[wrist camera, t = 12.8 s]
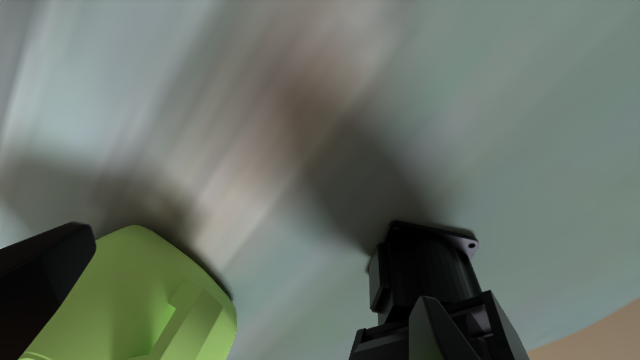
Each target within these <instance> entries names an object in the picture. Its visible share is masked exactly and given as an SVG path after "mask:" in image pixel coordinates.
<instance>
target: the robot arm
mask: <svg viewBox="0 0 640 360" xmlns="http://www.w3.org/2000/svg"><path fill="white" fill-rule="evenodd" d="M394 227H399V228H397V229H394ZM470 243H473V244H471V245H469V244H470ZM96 247H97V246H96V242H95V238H94V234H93V231H92V228H91V226H90V225H89V224H85V223H80V222H70V223H67V224H64V225H62V226H59V227H56V228H54V229H51V230H49V231H46V232H43V233H41V234H38V235H36V236H33V237H31V238H28V239H25V240H23V241H20V242H18V243H15V244H12V245H10V246H7V247H5V248H2V249H0V360H18V359H19V358H20V357H21V355H22V354H23V353H24V352H25V350H26V349H27V348H28V347H29V345H30V344H31V343H32V342H33V340H34V339H35V338H36V337H37V335H38V334H39V333H40V332H41V330H42V329H43V328H44V327H45V325H46V324H47V323H48V322H49V320H50V319H51V318H52V317H53V315H54V314H55V313H56V311H57V310H58V309H59V308H60V306H61V305H62V303H63V302H64V300H65V299H66V298H67V296H68V295H69V293H70V291H71V290H72V288H73V287H74V285H75V284H76V282H77V281H78V279H79V278H80V276H81V275H82V273H83V272H84V270H85V269H86V267H87V265H88V264H89V262H90V261H91V259H92V258H93V256H94V254H95V252H96ZM478 247H479V243H478V240H477V239H476V238H475V237H472V236H467V235H462V234H457V233H453V232H448V231H443V230H439V229H434V228H429V227H425V226H420V225H415V224H411V223H406V222H401V221H392V222H391V223H390V224H389V227H388V229H387V232H386V234H385V237H384V240H383V242H382V243H379V244H378V245H377V247H376V250H375V252H374V255H373V258H372V260H371V263H370V266H369V286H370V309H371V310H372V312H375V313H378V326H376V327H372V328H369V329H366V328H364V329H360V330H357V333H356V336H355V340H354V343H353V347H352V350H351V353H350V357H349V360H529V357H528V355H527V353H526V351H525V349H524V347H523V345H522V342H521V340H520V338H519V336H518V334H517V333H516V331H515V329H514V328H513V326H512V324H511V323H510V321H509V319H508V318H507V316H506V314H505V313H504V311H503V310H502V308H501V306H500V305H499V303H498V301H497V300H496V298H495V296H494V295H493V293H492V291H491V290H488V291H485V292H482V290H481V288H480V285H479V282H478V280H477V277H476V275H475V272H474V270H473V267H472V264H471V262H470V260H471V259H472V257H473V256H474V254H475V252H476V251H477V249H478Z"/></svg>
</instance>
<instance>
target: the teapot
mask: <svg viewBox="0 0 640 360" xmlns="http://www.w3.org/2000/svg"><path fill="white" fill-rule="evenodd" d="M95 242H96V246H97V247H96V252H95V254H94V256H93V258H92V259H91V261H90V262H89V264H88V265H87V267H86V269H85V270H84V272H83V273H82V275H81V276H80V278H79V279H78V281H77V282H76V284H75V285H74V287H73V288H72V290H71V291H70V293H69V295H68V296H67V298H66V299H65V300H64V302H63V303H62V305H61V306H60V308H59V309H58V310H57V311H56V313H55V314H54V315H53V317H52V318H51V319H50V320H49V322H48V323H47V324H46V325H45V327H44V328H43V329H42V330H41V332H40V333H39V334H38V335H37V337H36V338H35V339H34V340H33V342H32V343H31V344H30V345H29V347H28V348H27V349H26V350H25V352H24V353H23V354H22V355H21V357H20V358H19V359H18V360H226V357H227V355H228V353H229V351H230V349H231V346H232V344H233V341H234V339H235V336H236V331H237V315H236V308H235V306H234V304H233V303H232V301H231V300H230V299H229V297H228V296H227V295H226V294H225V293H224V291H223V290H222V289H221V288H220V287H219V286H218V285H217V284H216V282H215V281H214V280H213V279H212V278H211V277H210V276H209V275H208V274H207V273H206V272H205V271H204V270H203V269H202V268H201V267H200V266H198V265H197V264H196V263H195V262H194V261H193V260H191V259H190V258H189V257H188V256H186V255H185V254H184V253H182V252H181V251H180V250H179V249H177V248H176V247H175V246H173V245H172V244H170V243H169V242H168V241H166V240H165V239H164V238H162V237H161V236H159V235H157V234H156V233H154V232H153V231H151V230H149V229H147V228H145V227H143V226H140V225H130V226H126V227H124V228H121V229H119V230H117V231H114V232H112V233H110V234H107V235H105V236H103V237H101V238H99V239H97V240H95Z"/></svg>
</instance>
